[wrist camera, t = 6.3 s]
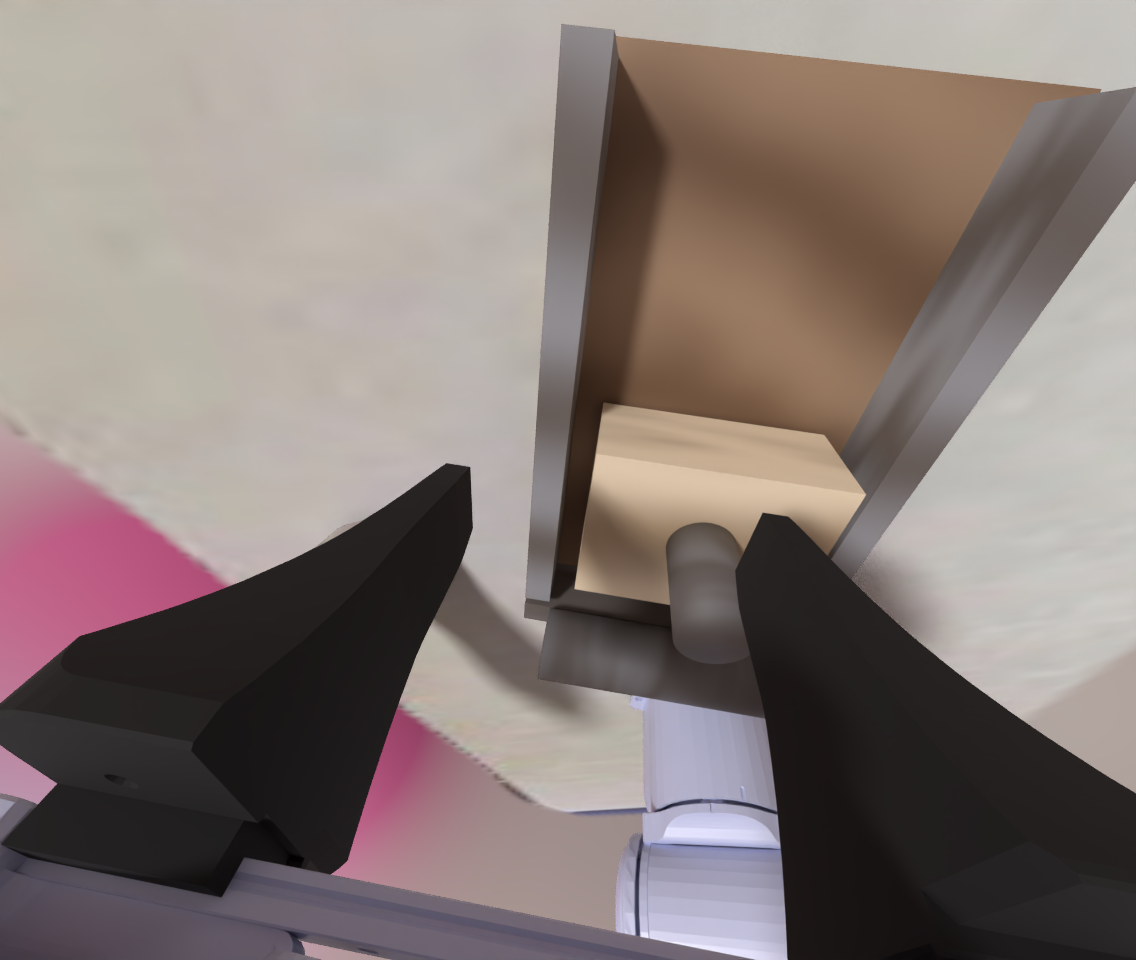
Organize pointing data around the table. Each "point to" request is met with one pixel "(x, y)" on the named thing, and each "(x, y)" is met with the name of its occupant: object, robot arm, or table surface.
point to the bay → (787, 284)
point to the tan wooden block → (700, 513)
